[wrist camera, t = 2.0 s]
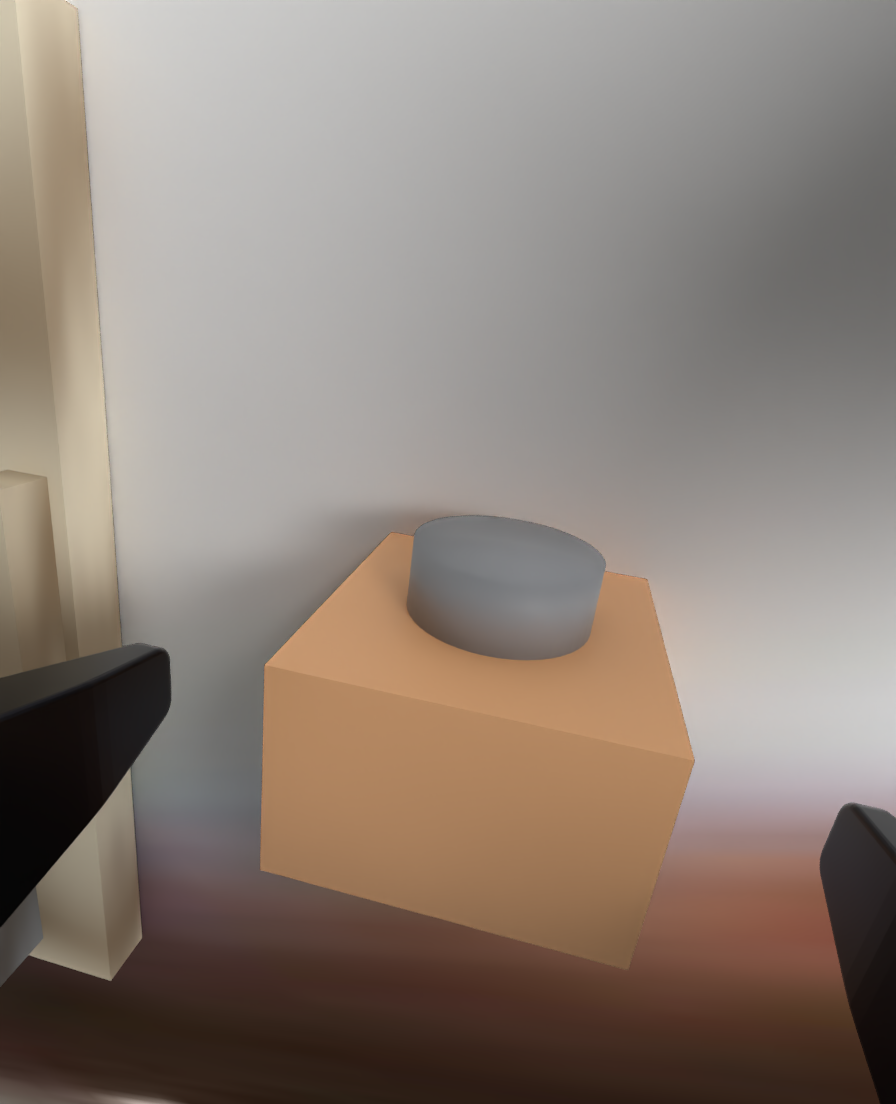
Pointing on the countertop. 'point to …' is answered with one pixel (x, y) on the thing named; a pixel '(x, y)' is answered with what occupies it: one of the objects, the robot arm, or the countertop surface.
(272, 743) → the coupling
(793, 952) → the countertop surface
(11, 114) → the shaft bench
